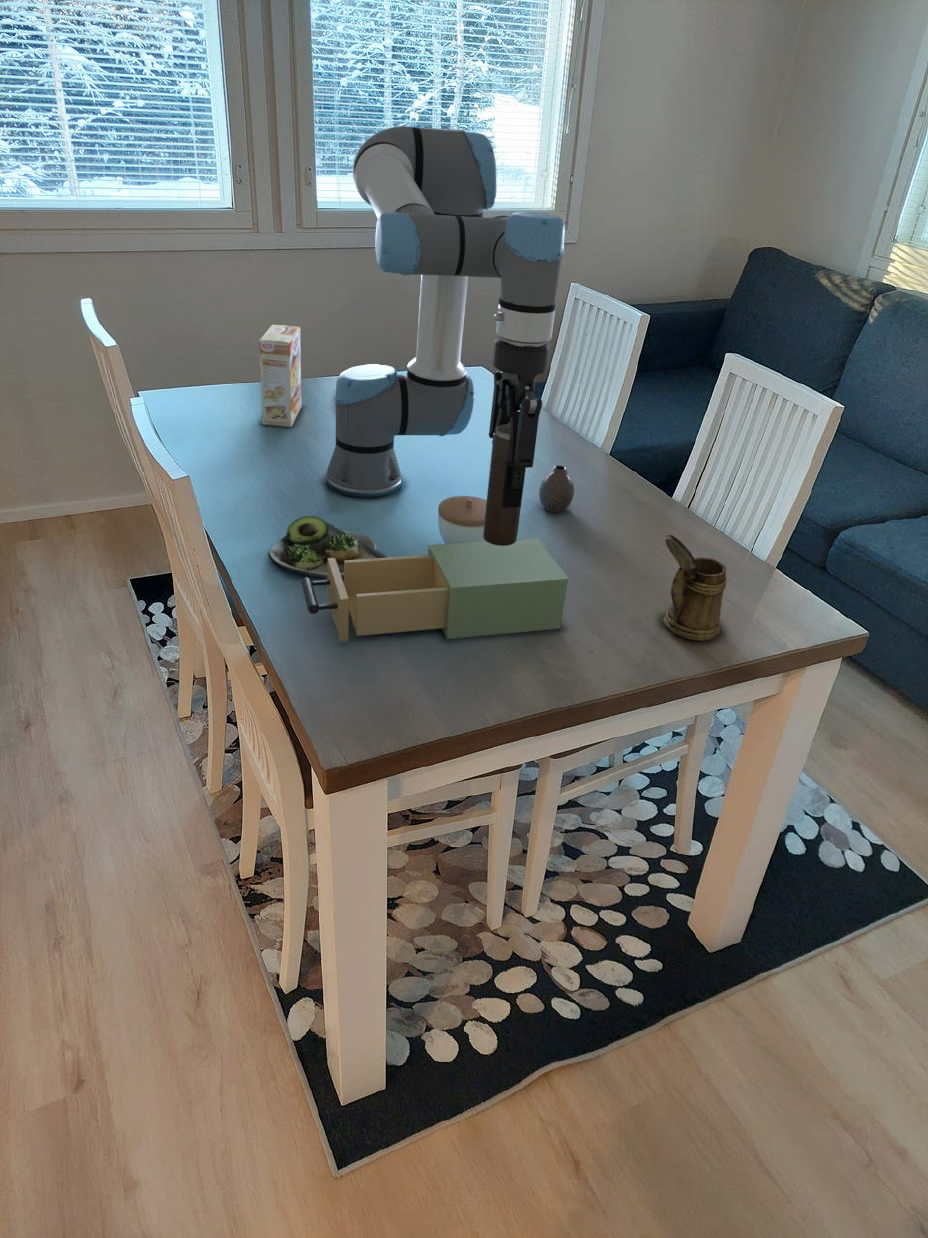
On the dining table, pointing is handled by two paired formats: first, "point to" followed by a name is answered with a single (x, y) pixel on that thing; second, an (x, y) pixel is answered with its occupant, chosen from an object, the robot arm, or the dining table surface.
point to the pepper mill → (500, 494)
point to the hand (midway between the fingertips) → (504, 497)
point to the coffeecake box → (280, 375)
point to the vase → (556, 490)
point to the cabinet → (500, 587)
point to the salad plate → (319, 547)
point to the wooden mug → (695, 594)
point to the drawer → (383, 595)
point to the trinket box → (462, 519)
